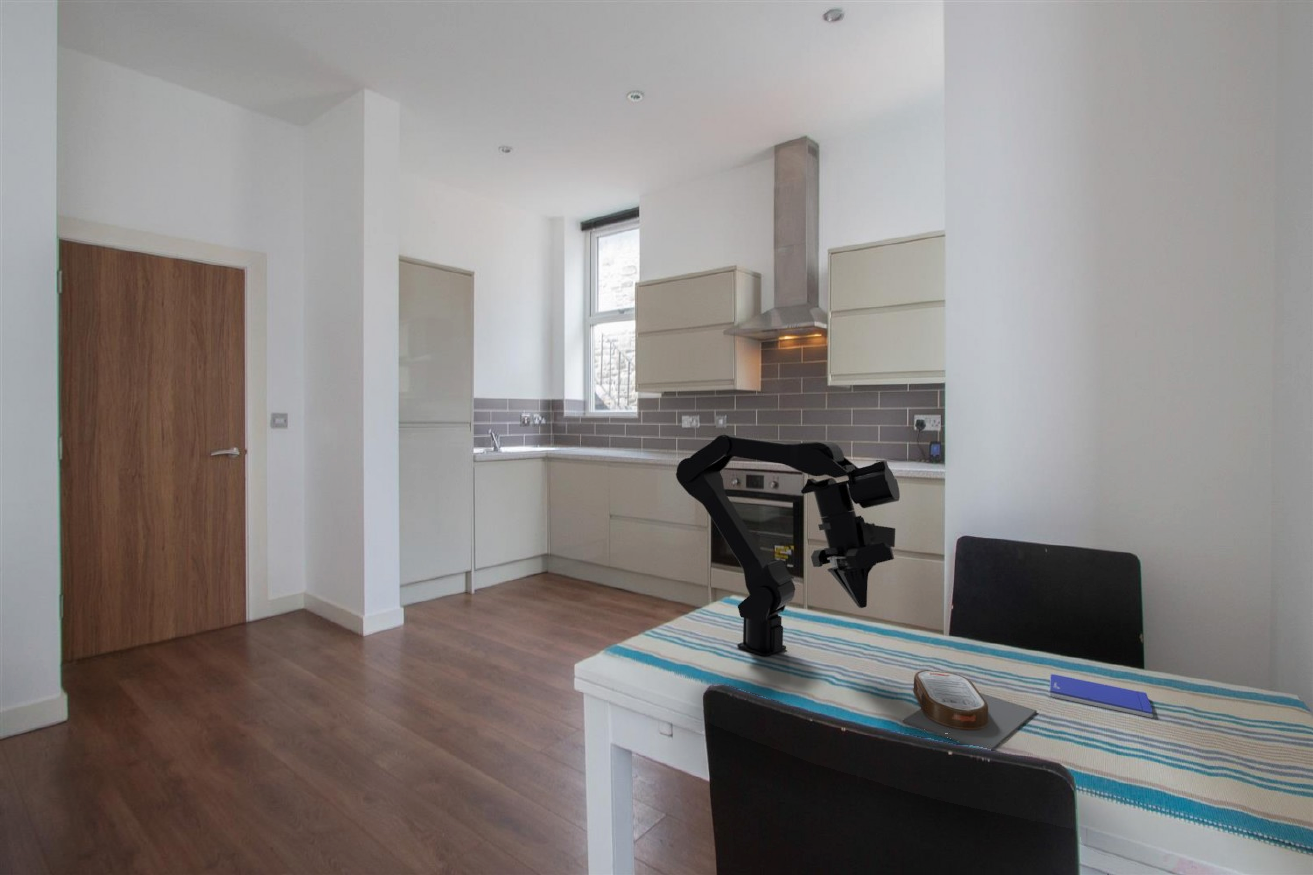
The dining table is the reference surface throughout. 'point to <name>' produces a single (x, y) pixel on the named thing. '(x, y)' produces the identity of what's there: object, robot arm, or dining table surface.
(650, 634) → the dining table surface
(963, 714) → the tin
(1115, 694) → the hard drive
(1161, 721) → the dining table surface
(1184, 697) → the dining table surface
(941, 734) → the mat
